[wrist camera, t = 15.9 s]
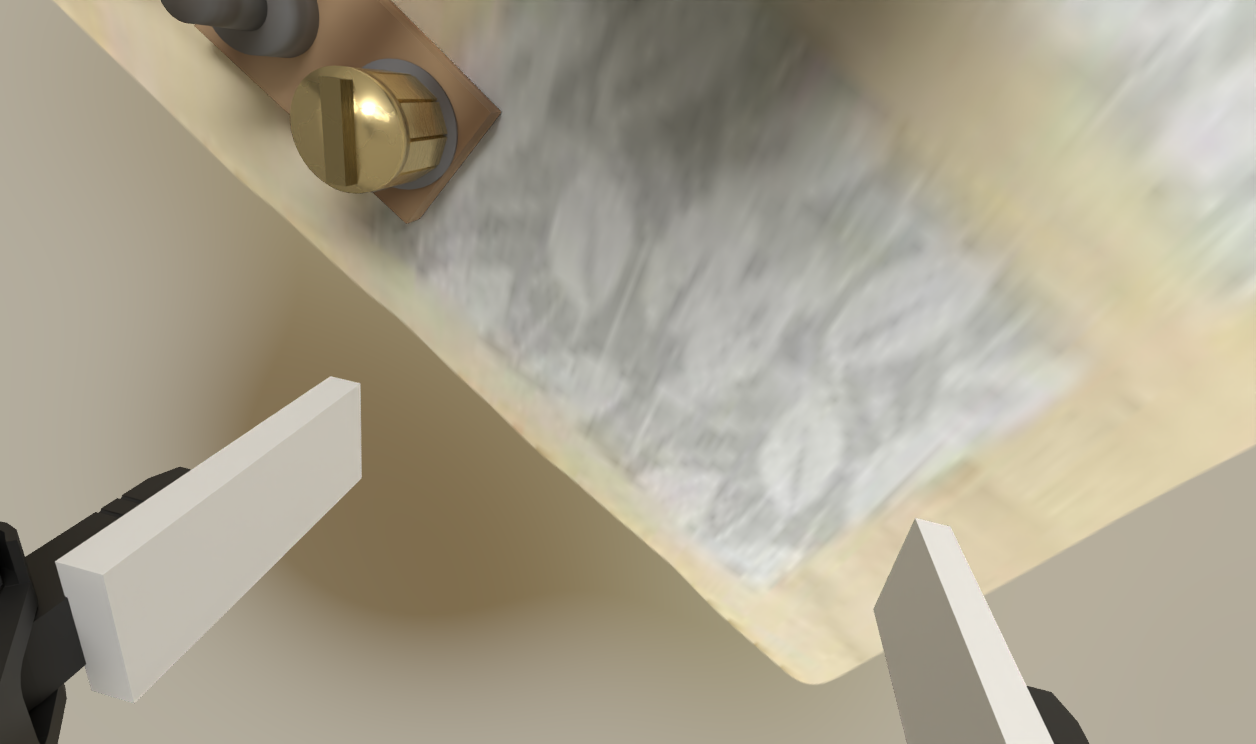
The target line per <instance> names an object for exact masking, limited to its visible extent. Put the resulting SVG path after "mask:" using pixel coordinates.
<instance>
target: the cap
mask: <svg viewBox="0 0 1256 744" xmlns="http://www.w3.org/2000/svg"><path fill="white" fill-rule="evenodd" d="M436 100H437V98H436V97H435V96H434V95H433V94H432V93H431V92H430V91H429V90H428V89H427V88H426V87H425V86H424V85H423V84H422V83H421V82H420V81H419V80H418V79H417V78H416V77H415V76H411V74H407V73H401V72H394V71H388V70H379V69H365V68H355V67H347V66H326V67H322V68H319V69H317V70H314V71H313V72H311V73H310V74H308V75H307V76H306V77H305V78H304V79H303V80H302V81H301V83H300V84H299V85H298V87H297V89H296V91H295V93H294V96H293V99H292V103H291V109H290V125H291V131H292V135H293V139H294V142H295V145H296V147H297V150H298V152H299V154H300V156H301V157H302V159H303V160H304V162H305V163H306V165H307V166H308V167H309V169H310V170H311V171H312V172H313V173H314V174H315V175H316V176H317V177H318V178H319V179H321V180H322V181H323V182H325V183H326V184H328V185H329V186H331V187H333V188H335V189H338V190H340V191H343V192H348V193H366V192H376V191H380V190H384V189H388V188H391V187H392V186H396V185H400V184H404V183H408V182H412V181H416V180H417V179H419V178H420V177H422V176H424V175H425V174H427V173H428V172H430V171H432V170H433V169H435V168H436V167H437V166H436V165H439V163H440V160H441V157H442V153H443V150H444V147H445V144H446V141H447V138H448V137H446V136H444V135H443V134H448V133H447V129H446V125H445V121H444V118H443V114H442V110H441V106H440V102H435V101H436Z"/></svg>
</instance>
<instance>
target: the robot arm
mask: <svg viewBox="0 0 1256 744" xmlns="http://www.w3.org/2000/svg"><path fill="white" fill-rule="evenodd" d="M360 396H361V393H360V383H356V382H352V381H348V380H344V379H339V378H336V377H331V376H330V377H329V378H327V379H326V380H324V381H323V382H321V383H320V384H318V385H317V386H315V387H314V388H312V389H311V390H309V391H308V392H306V393H305V394H303V395H302V396H300V397H299V398H298V399H296V400H294V401H293V402H292V403H290V404H289V405H287V406H286V407H284V408H283V409H281V410H280V411H278V412H277V413H275V414H274V415H272V416H271V417H269V418H268V419H266V420H265V421H263V422H262V423H260V424H259V425H257V426H256V427H254V428H253V429H251V430H250V431H249V432H247V433H245V434H244V435H242V436H241V437H240V438H238V439H237V440H235V441H234V442H232V443H231V444H229V445H228V446H226V447H225V448H223V449H222V450H220V451H219V452H217V453H216V454H214V455H213V456H211V457H210V458H208V459H207V460H205V461H204V462H202V463H201V464H199V465H198V466H196V467H195V468H194V469H192V470H190V469H186V468H183V467H178V468H175V469H172V470H170V471H167V472H164V473H162V474H159V475H156V476H154V477H151V478H148V479H147V480H145V481H143V482H142V483H140V484H139V485H137V486H136V487H134V488H133V489H131V490H129V491H128V492H126V493H125V494H123V495H122V498H121V499H118V498H117V499H115V500H114V501H112V502H111V503H109V504H108V505H106V506H104V507H103V508H101V511H100V512H99V513H97V512H95V513H93V514H92V515H90V516H89V517H87V518H85V519H84V520H82V521H81V522H79V523H78V524H76V525H75V526H73V527H71V528H70V529H68V530H67V531H65V532H64V533H62V534H61V535H59V536H57V537H56V538H54V539H53V540H51V541H49V542H48V543H46V544H45V545H43V546H42V547H40V548H38V549H37V550H35V551H34V552H32V553H31V554H29V555H28V556H26V557H25V556H24V553H23V549H22V546H21V543H20V540H19V536H18V533H17V530H16V529H15V528H13V527H12V526H11V525H9V524H8V523H5V522H0V744H58V739H59V734H60V729H61V724H62V719H63V714H64V708H65V704H66V699H67V698H66V691H65V690H66V689H65V685H64V683H65V682H66V681H67V680H68V679H70V677H72V676H73V675H74V674H75V673H76V672H78V671H79V670H80V669H81V668H82V667H83V666H85V669H86V673H87V676H88V680H89V683H90V686H91V690H92V691H94V692H98V693H101V694H105V695H108V696H111V697H114V698H118V699H121V700H124V701H128V702H131V703H135V702H136V701H137V700H138V699H139V698H140V697H141V696H142V695H143V694H144V693H145V692H146V691H147V690H148V689H149V688H150V687H151V686H152V685H153V684H154V683H155V682H156V681H157V680H158V679H159V678H160V677H161V676H162V675H163V674H164V673H165V672H166V671H167V670H168V669H169V668H170V667H171V666H172V665H174V663H176V661H177V660H178V659H179V658H181V657H182V656H183V654H185V652H187V650H189V648H191V647H192V646H193V645H194V644H195V643H196V642H197V640H199V639H200V638H201V637H202V636H203V635H204V634H205V633H206V632H207V631H208V630H209V629H210V628H211V627H212V626H213V625H214V624H215V623H216V622H217V621H218V620H219V619H220V618H221V617H222V616H223V615H224V614H225V613H226V612H227V611H228V610H229V609H230V608H231V607H232V606H233V605H234V604H235V603H236V602H237V601H238V600H239V599H240V598H241V597H242V596H243V595H244V594H245V593H246V592H247V591H248V590H249V589H250V588H251V587H252V586H253V585H254V584H255V583H256V582H257V581H258V580H259V579H260V578H261V577H262V576H263V575H264V574H265V573H266V572H267V571H268V570H269V569H270V568H271V567H272V566H273V565H274V564H275V563H276V562H277V561H278V560H279V559H280V558H281V557H282V556H283V555H284V554H285V553H286V552H287V551H288V550H289V549H290V548H291V547H292V546H294V545H295V544H296V543H297V542H298V540H299V539H300V538H302V536H304V534H306V533H307V532H308V531H309V530H310V529H311V528H312V527H313V526H314V525H315V524H316V523H317V522H318V521H319V520H320V519H321V518H322V517H323V516H324V515H325V514H326V513H327V512H328V511H329V510H330V509H331V508H332V507H333V506H334V505H335V504H336V503H337V502H338V501H339V500H340V499H341V498H342V497H343V496H344V495H345V494H346V493H347V492H348V491H349V490H350V489H351V488H352V487H353V486H354V485H355V484H356V483H357V482H358V481H359V480H360V479H361V478H362V477H361V397H360ZM874 613H875V617H876V621H877V625H878V629H879V633H880V637H881V641H882V645H883V649H884V653H885V657H886V661H887V665H888V669H889V673H890V677H891V681H892V685H893V689H894V693H895V697H896V701H897V705H898V709H899V713H900V717H901V721H902V725H903V729H904V733H905V737H906V741H907V744H1089V742H1088V740H1087V738H1086V736H1085V734H1084V733H1083V731H1082V729H1081V727H1080V725H1079V723H1078V722H1077V720H1075V718H1074V717H1073V716H1072V715H1071V714H1070V713H1069V711H1068V710H1067V709H1066V708H1065V707H1064V706H1063V705H1062V703H1061V702H1060V701H1059V700H1058V699H1057V698H1056V697H1055V696H1054V695H1053V693H1052V692H1049V691H1045V690H1041V689H1037V688H1033V687H1029V686H1026V684H1025V682H1024V680H1023V678H1022V676H1021V674H1020V672H1019V669H1018V668H1017V666H1016V663H1015V661H1014V659H1013V657H1012V655H1011V653H1010V651H1009V648H1008V646H1007V644H1006V642H1005V640H1004V638H1003V636H1002V634H1001V632H1000V630H999V627H998V625H997V623H996V621H995V619H994V617H993V615H992V613H991V611H990V609H989V606H988V604H987V602H986V600H985V598H984V596H983V594H982V592H981V590H980V588H979V585H978V583H977V581H976V579H975V577H974V575H973V573H972V571H971V569H970V567H969V565H968V562H967V560H966V558H965V556H964V554H963V552H962V550H961V548H960V546H959V544H958V541H957V539H956V537H955V535H954V533H953V531H952V529H951V527H950V526H946V525H942V524H938V523H934V522H930V521H926V520H921V519H917V518H915V520H914V522H913V524H912V526H911V528H910V531H909V533H908V535H907V537H906V539H905V541H904V544H903V546H902V548H901V550H900V552H899V554H898V557H897V559H896V561H895V563H894V565H893V568H892V570H891V572H890V574H889V576H888V578H887V581H886V583H885V585H884V587H883V589H882V591H881V594H880V596H879V598H878V600H877V602H876V605H875V607H874Z"/></svg>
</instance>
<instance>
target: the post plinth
mask: <svg viewBox="0 0 1256 744" xmlns="http://www.w3.org/2000/svg"><path fill="white" fill-rule="evenodd" d="M161 2H162V4H163V6H164V7H165V8H166V10H167V11H168V12H169V13H170V14H171V15H172V16H173V17H174V18H176V19H177V20H179V21H181V22H184V23H190V24H195V25H194V26H195V27H196V28H197V29H198V30H199V31H200V32H201V33H203V34H204V35H205V36H206V37H207V38H208V39H209V40H210V41H211V42H212V43H213V44H214V45H215V46H216V47H218V48H219V49H220V50H221V51H222V52H223V53H224V54H225V55H226V56H227V57H228V58H229V59H230V60H231V61H233V62H234V63H235V64H236V65H237V66H238V67H239V68H240V69H241V70H242V71H243V72H244V73H245V74H246V75H247V76H249V77H250V78H251V79H252V80H253V81H254V82H255V83H256V84H257V85H258V86H259V87H260V88H261V89H262V90H264V91H265V92H266V93H267V94H268V95H269V96H270V97H271V98H272V99H273V100H274V101H275V102H276V103H277V104H279V105H280V106H281V107H282V108H283V109H284V110H285V111H286V112H287V113H288V114H289V115H290V109H291V103H292V99H293V96H294V93H295V91H296V89H297V87H298V85H299V84H300V83H301V81H302V80H303V79H304V78H305V77H306V76H307V75H308V74H310V73H311V72H313V71H314V70H317V69H319V68H322V67H326V66H347V67H355V68H365V69H379V70H388V71H394V72H401V73H407V74H411V76H415V77H416V78H417V79H418V80H419V81H420V82H421V83H422V84H423V85H424V86H425V87H426V88H427V89H428V90H429V91H430V92H431V93H432V94H433V95H434V96H435V97H436V98H437V100H436V101H435V102H440V106H441V110H442V114H443V118H444V121H445V125H446V129H447V133H448V134H443V135H444V136H446V137H448V138H447V141H446V144H445V147H444V150H443V153H442V157H441V160H440V163H439V165H436V166H437V167H436V168H435V169H433V170H432V171H430V172H428V173H427V174H425V175H424V176H422V177H420V178H419V179H417V180H416V181H412V182H408V183H404V184H400V185H396V186H392V187H391V188H388V189H384V190H380V191H376V192H373V193H374V194H375V195H376V196H377V197H378V198H379V199H380V200H381V201H382V202H384V203H385V204H386V205H387V206H388V207H389V208H390V209H391V210H392V211H393V212H394V213H395V214H396V215H397V216H399V217H400V218H401V219H402V220H403V221H404V222H405V223H406V224H407V223H410V222H412V221H415V220H418V219H420V218H421V216H422V215H423V214H424V213H425V211H426V210H427V209H428V207H429V206H430V205H431V203H432V202H433V201H434V200H435V198H436V197H437V196H438V194H439V193H440V192H441V190H442V189H443V188H444V187H445V185H446V184H447V183H448V181H449V180H450V179H451V177H452V176H453V175H454V173H455V172H456V171H457V170H458V168H459V167H460V166H461V164H462V163H463V162H464V160H465V159H466V158H467V157H468V155H469V154H470V153H471V151H472V150H473V149H474V147H475V146H476V145H477V144H478V142H479V141H480V140H481V138H482V137H483V136H484V134H485V133H486V132H487V131H488V129H489V128H490V127H491V125H492V124H493V123H494V121H495V120H496V119H497V117H498V116H499V115H500V114H501V111H500V110H499V109H498V108H497V107H496V106H495V105H494V104H493V103H492V102H491V101H490V100H489V99H488V98H487V97H486V96H485V95H484V94H483V93H482V92H481V91H480V90H479V89H478V88H477V87H476V86H475V85H474V84H473V83H472V82H471V81H470V80H469V79H468V78H467V77H466V76H465V75H464V74H463V73H462V72H461V71H460V70H459V69H458V68H457V67H456V66H455V65H454V64H453V63H452V62H451V61H450V60H449V59H448V58H447V57H446V56H445V55H444V54H443V53H442V52H441V51H440V50H439V49H438V48H437V46H436V45H435V44H434V43H433V42H432V41H431V40H430V39H429V38H428V37H427V36H426V35H425V34H424V33H423V32H422V31H421V30H420V29H419V28H418V27H417V26H416V25H415V24H414V23H413V22H412V21H411V20H410V19H409V18H408V17H407V16H406V15H405V14H404V13H403V12H402V11H401V10H400V9H399V8H398V7H397V6H396V5H395V4H394V3H393V2H392V1H391V0H161Z"/></svg>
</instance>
